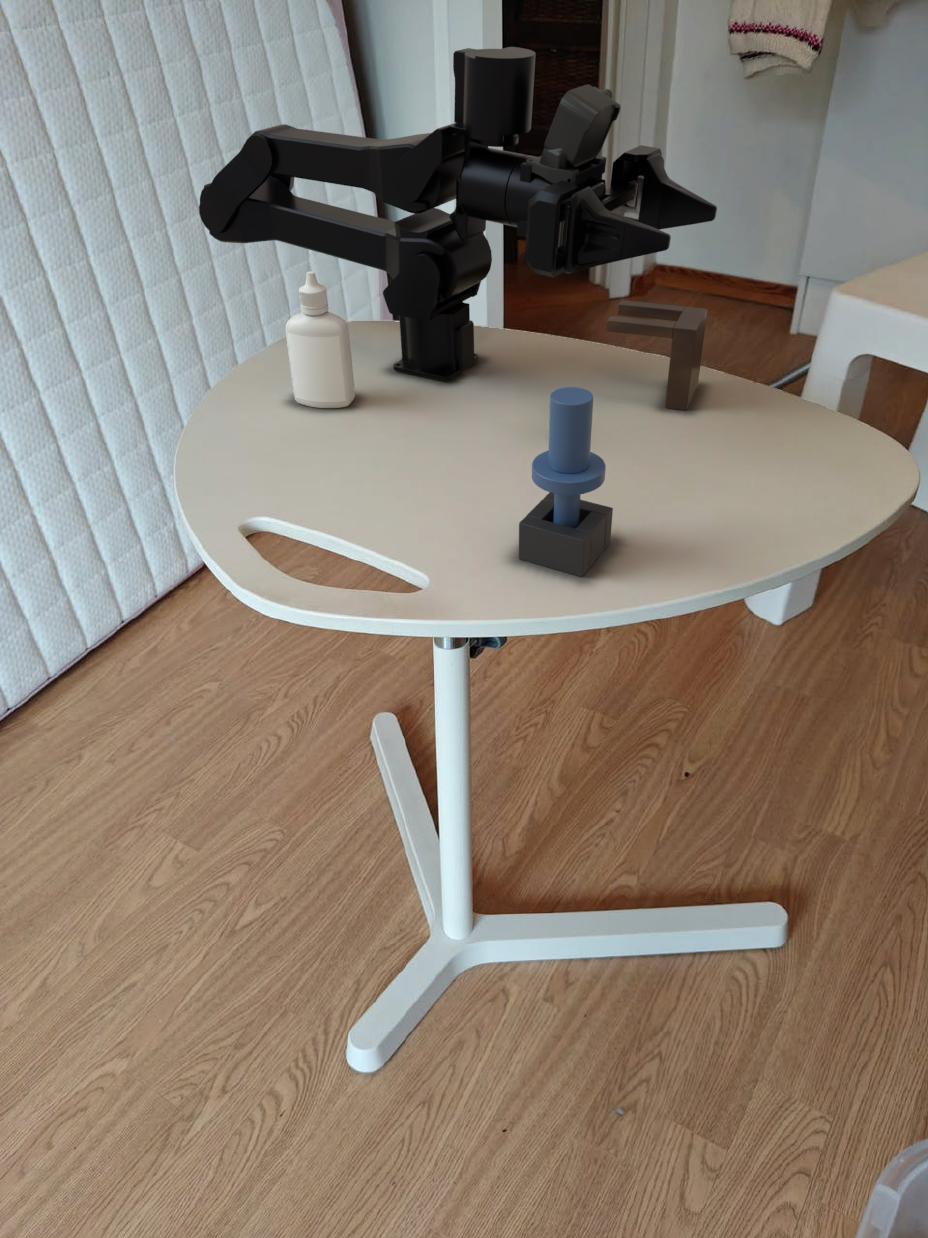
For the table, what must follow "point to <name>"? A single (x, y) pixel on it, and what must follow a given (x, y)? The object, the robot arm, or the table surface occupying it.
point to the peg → (569, 454)
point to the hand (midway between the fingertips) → (693, 227)
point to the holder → (565, 537)
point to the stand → (684, 342)
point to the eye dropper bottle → (319, 351)
